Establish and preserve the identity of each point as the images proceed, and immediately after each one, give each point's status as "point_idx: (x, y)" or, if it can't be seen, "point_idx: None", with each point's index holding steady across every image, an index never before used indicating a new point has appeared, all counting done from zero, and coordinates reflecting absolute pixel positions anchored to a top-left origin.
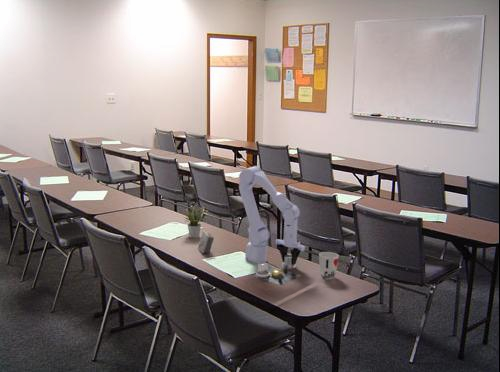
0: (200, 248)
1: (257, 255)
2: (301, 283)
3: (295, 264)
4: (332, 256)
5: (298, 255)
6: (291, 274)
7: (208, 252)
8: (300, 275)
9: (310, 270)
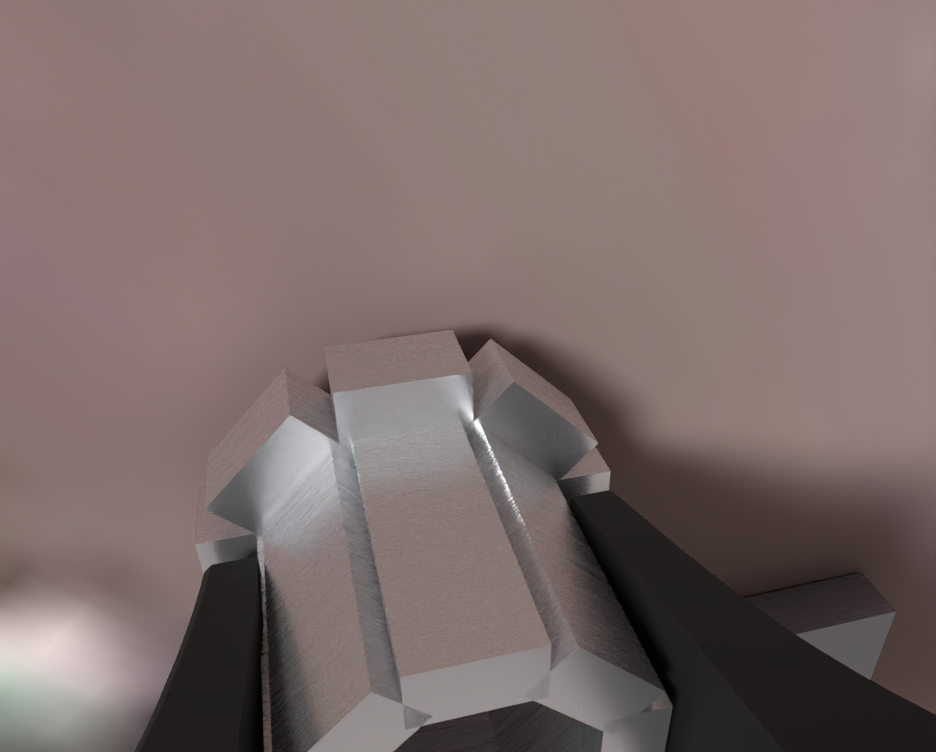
0: None
1: None
2: (920, 680)
3: (575, 443)
4: None
5: (850, 671)
6: None
7: None
8: (873, 628)
9: (879, 123)
